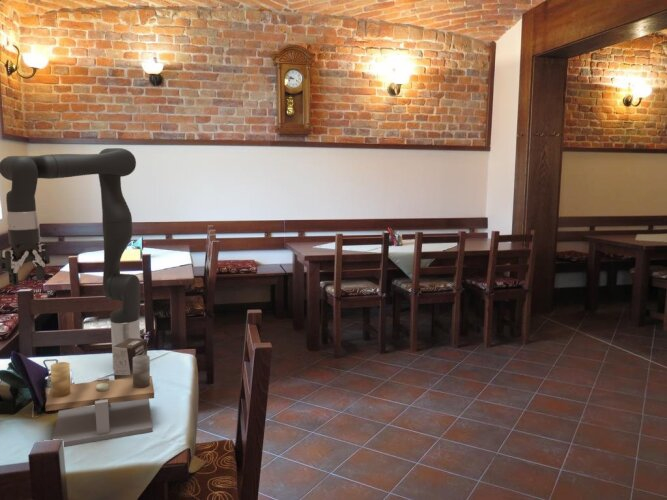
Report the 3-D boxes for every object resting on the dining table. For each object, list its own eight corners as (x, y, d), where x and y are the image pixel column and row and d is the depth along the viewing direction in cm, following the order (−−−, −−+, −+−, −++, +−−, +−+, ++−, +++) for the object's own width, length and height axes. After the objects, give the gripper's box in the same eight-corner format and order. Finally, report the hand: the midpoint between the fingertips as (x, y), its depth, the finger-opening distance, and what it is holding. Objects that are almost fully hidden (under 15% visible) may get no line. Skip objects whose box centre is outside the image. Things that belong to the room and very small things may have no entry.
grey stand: (51, 448, 131) (48, 411, 129) (59, 414, 148) (56, 382, 146) (152, 431, 139) (150, 397, 138) (148, 401, 157) (147, 370, 155)
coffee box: (133, 399, 158) (130, 348, 156) (114, 397, 160) (111, 346, 157) (149, 386, 167) (147, 338, 164) (131, 385, 168) (129, 337, 166)
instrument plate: (45, 412, 131) (43, 375, 130) (51, 390, 143) (50, 357, 142) (154, 399, 141) (154, 365, 140) (151, 380, 153) (151, 348, 152)
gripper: (11, 230, 141) (16, 289, 143) (53, 225, 154) (57, 278, 157) (-10, 229, 143) (-5, 286, 146) (34, 223, 156) (38, 276, 159)
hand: (27, 282), depth 151 cm, fingers open, 8 cm apart
